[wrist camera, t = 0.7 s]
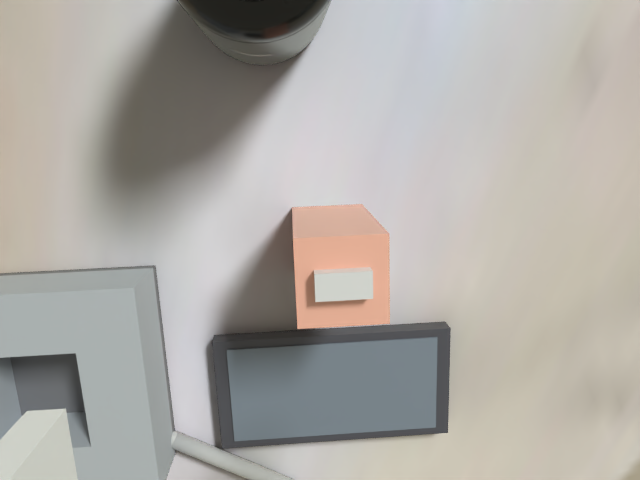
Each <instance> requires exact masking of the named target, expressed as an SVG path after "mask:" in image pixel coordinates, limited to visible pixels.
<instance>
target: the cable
mask: <svg viewBox="0 0 640 480" xmlns="http://www.w3.org/2000/svg"><path fill="white" fill-rule="evenodd" d="M171 444H172V448H173V449H174V450H177V451H179V452H182V453H184V454H187V455H189V456H191V457H194V458H196V459H199V460H201V461H204V462H206V463H209V464H211V465H214V466H216V467H219V468H221V469H224V470H226V471H228V472H231V473H233V474H236V475H238V476H241V477H243V478H246V479H248V480H294V479H292V478H289V477H287V476H285V475H282V474H280V473H277V472H275V471H272V470H270V469H268V468H265V467H263V466H260V465H258V464H256V463H253V462H251V461H248V460H246V459H243V458H241V457H239V456H236V455H234V454H231V453H229V452H226V451H224V450H222V449H219V448H217V447H214V446H212V445H209V444H207V443H205V442H202V441H200V440H197V439H195V438H192V437H190V436H188V435H185V434H183V433H180V432H178V431H173V433H172V438H171Z"/></svg>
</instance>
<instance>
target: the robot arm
mask: <svg viewBox="0 0 640 480" xmlns="http://www.w3.org/2000/svg"><path fill="white" fill-rule="evenodd" d="M0 480H78V478H77V472H76V466H75V460H74V454H73V448H72V442H71V436H70V430H69V424H68V418H67V412H66V409H51V410H34V411H27V412H26V413H25V414H24V415H23V416H22V417H21V418H20V419H19V420H18V421H17V422H16V423H15V424H14V426H13V427H12V428H11V429H10V430H9V431H8V432H7V433H6V434H5V435H4V436H3V437H2V439H1V440H0Z"/></svg>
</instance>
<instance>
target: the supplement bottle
mask: <svg viewBox="0 0 640 480" xmlns="http://www.w3.org/2000/svg"><path fill="white" fill-rule="evenodd" d="M177 1H178V2H179V3H180V5H181V6H182V7H183V9H184V10H185V11H186V12H187V13H188V15H189V16H190V17H191V18H192V19H193V20H194V22H195V23H196V24H197V25H198V26H199V28H200V29H201V30H202V31H203V32H204V33H205V35H206V36H207V37H208V38H209V39H210V40H211V41H212V42H213V43H214V44H215V45H216V46H217V47H218V48H219V49H220V50H222V51H223V52H224V53H226V54H227V55H229V56H231V57H233V58H235V59H237V60H239V61H242V62H245V63H249V64H255V65H270V64H276V63H280V62H283V61H286V60H288V59H290V58H292V57H294V56H295V55H297V54H298V53H299V52H301V51H302V50H303V49H304V48H305V47H306V46H307V45H308V44H309V43H310V42H311V41H312V40H313V38H314V37H315V35H316V34H317V32H318V30H319V28H320V26H321V24H322V22H323V20H324V17H325V15H326V12H327V10H328V7H329V5H330V3H331V0H177Z"/></svg>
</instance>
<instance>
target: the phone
mask: <svg viewBox="0 0 640 480" xmlns="http://www.w3.org/2000/svg"><path fill="white" fill-rule="evenodd" d="M212 346H213V356H214V367H215V378H216V388H217V399H218V410H219V420H220V431H221V442H222V448H236V447H251V446H265V445H279V444H294V443H308V442H322V441H336V440H351V439H365V438H379V437H394V436H408V435H422V434H437V433H448V406H449V366H450V327H449V326H448V325H447V323H446V322H433V323H416V324H399V325H382V326H365V327H347V328H330V329H313V330H296V331H279V332H262V333H245V334H228V335H215V336H214V339H213V342H212Z"/></svg>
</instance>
